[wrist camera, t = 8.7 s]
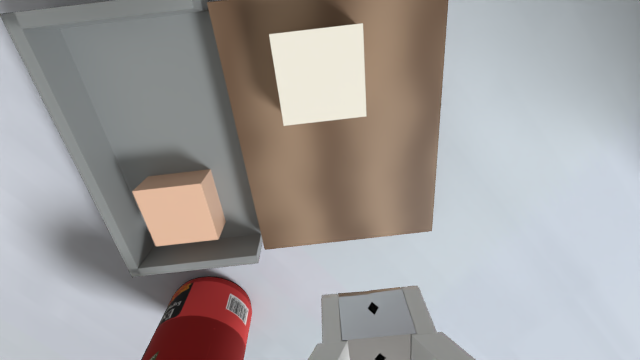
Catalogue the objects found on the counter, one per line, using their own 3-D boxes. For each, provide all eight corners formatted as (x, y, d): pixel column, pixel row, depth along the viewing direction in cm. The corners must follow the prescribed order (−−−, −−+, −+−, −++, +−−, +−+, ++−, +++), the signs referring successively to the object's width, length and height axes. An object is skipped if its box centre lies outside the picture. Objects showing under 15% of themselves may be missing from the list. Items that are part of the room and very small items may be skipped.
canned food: (177, 267, 29) (113, 388, 19) (260, 282, 31) (239, 403, 21) (171, 321, 32) (112, 449, 23) (246, 333, 34) (221, 458, 24)
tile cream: (355, 24, 18) (363, 23, 16) (359, 106, 21) (366, 116, 18) (273, 33, 18) (268, 34, 16) (286, 115, 21) (283, 125, 18)
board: (433, -21, 20) (450, -27, 17) (421, 214, 28) (431, 231, 25) (218, 5, 20) (206, 2, 18) (268, 231, 28) (264, 249, 26)
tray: (208, -3, 20) (189, -9, 16) (263, 236, 28) (258, 263, 25) (47, 16, 20) (-1, 14, 17) (151, 249, 28) (131, 277, 25)
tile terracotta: (210, 169, 24) (200, 183, 22) (225, 221, 26) (218, 239, 24) (148, 176, 24) (132, 191, 22) (168, 227, 26) (155, 246, 24)
